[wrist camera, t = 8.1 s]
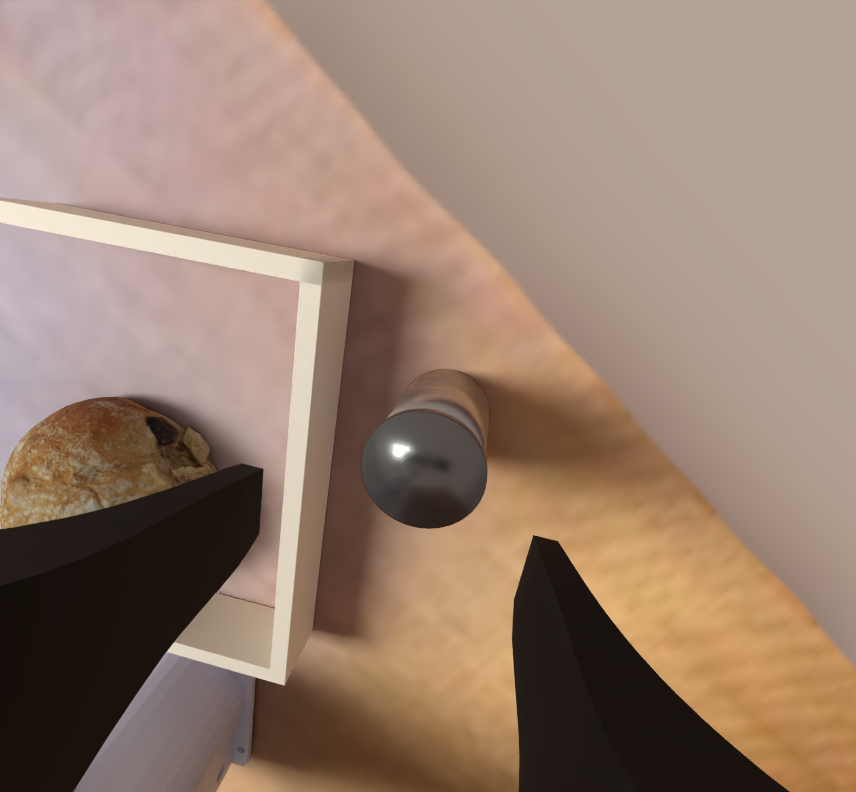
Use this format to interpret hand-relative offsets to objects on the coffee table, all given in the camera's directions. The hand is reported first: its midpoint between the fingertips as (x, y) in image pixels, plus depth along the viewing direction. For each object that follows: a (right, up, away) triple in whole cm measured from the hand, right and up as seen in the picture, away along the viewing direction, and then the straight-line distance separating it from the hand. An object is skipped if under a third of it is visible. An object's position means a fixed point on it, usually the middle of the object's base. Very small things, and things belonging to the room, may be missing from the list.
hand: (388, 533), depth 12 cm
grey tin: (+2, +3, +9) cm, 10 cm away
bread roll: (-14, -1, +13) cm, 19 cm away
